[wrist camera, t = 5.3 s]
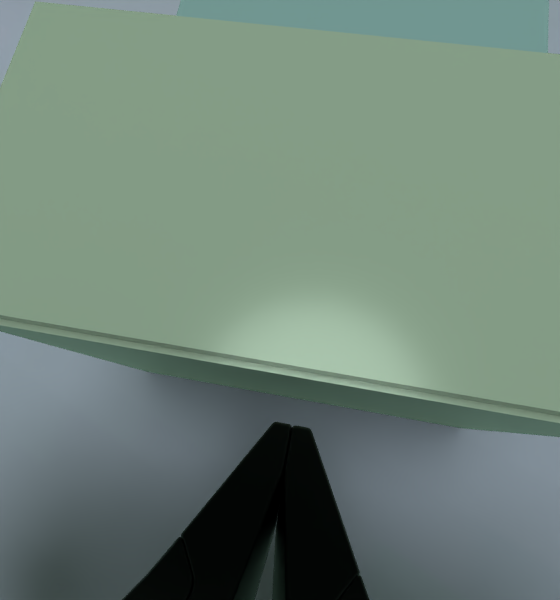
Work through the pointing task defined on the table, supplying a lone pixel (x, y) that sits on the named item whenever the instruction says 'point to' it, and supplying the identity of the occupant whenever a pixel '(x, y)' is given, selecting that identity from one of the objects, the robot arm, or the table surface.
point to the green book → (288, 211)
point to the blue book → (396, 18)
